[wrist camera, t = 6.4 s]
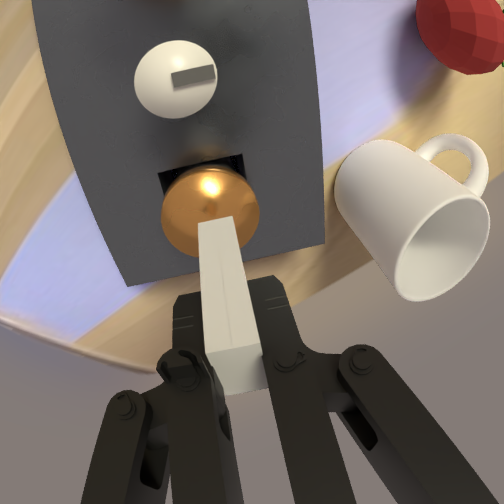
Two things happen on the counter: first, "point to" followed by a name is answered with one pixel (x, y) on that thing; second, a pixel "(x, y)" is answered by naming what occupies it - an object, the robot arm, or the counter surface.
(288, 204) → the console
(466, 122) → the counter surface
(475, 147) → the mug
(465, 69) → the tomato
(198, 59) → the dial
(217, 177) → the knob
